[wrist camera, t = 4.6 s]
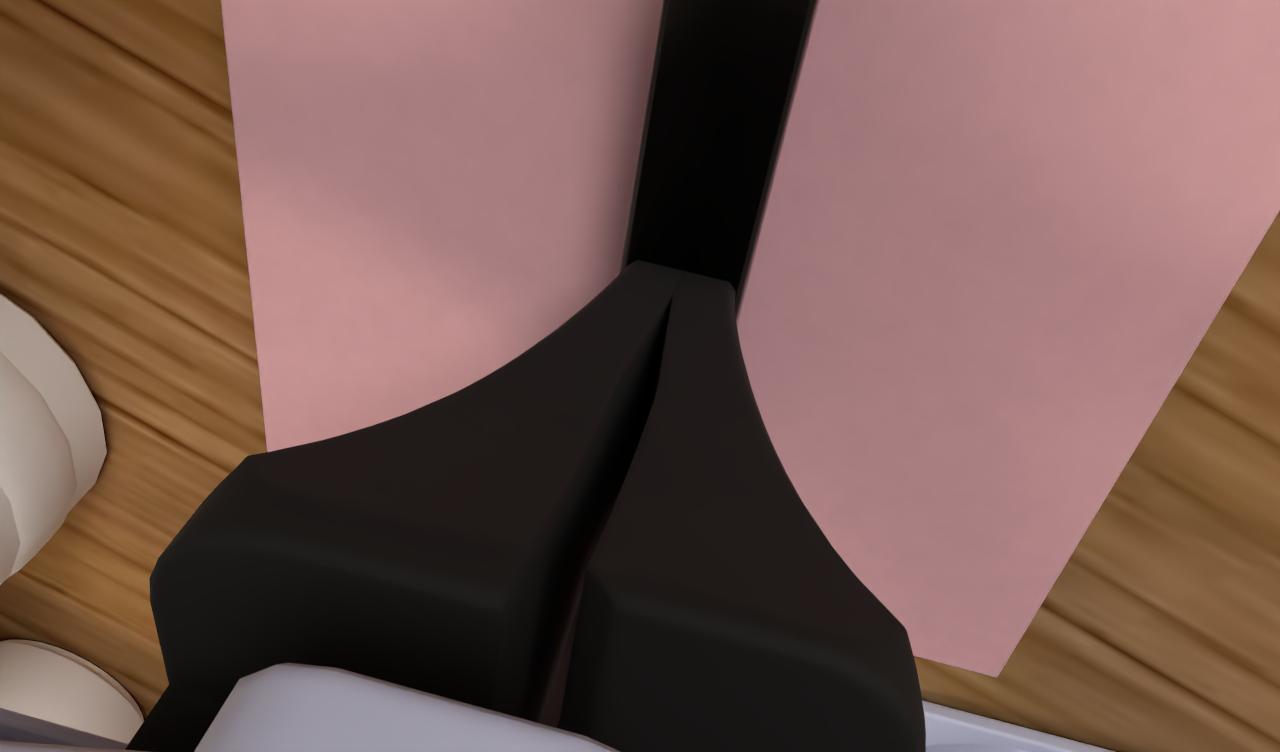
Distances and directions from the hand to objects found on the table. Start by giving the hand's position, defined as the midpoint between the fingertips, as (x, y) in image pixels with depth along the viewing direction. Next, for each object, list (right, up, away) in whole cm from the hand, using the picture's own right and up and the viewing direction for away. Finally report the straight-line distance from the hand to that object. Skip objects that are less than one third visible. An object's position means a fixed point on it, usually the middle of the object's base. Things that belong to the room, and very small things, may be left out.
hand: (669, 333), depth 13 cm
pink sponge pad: (+1, +3, +4) cm, 5 cm away
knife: (+1, +2, +3) cm, 4 cm away
